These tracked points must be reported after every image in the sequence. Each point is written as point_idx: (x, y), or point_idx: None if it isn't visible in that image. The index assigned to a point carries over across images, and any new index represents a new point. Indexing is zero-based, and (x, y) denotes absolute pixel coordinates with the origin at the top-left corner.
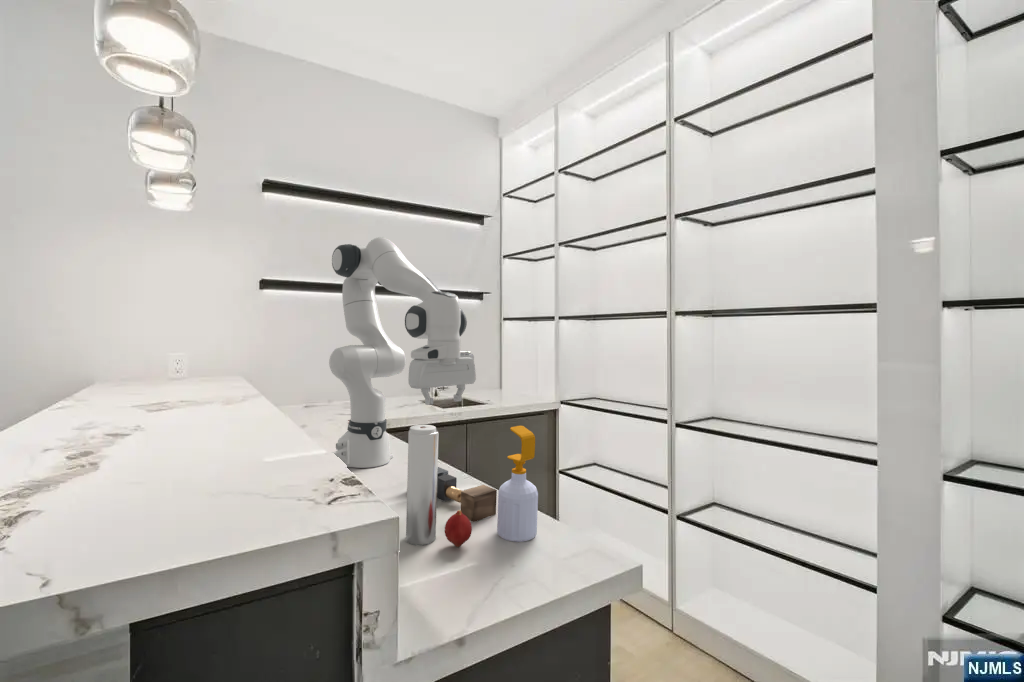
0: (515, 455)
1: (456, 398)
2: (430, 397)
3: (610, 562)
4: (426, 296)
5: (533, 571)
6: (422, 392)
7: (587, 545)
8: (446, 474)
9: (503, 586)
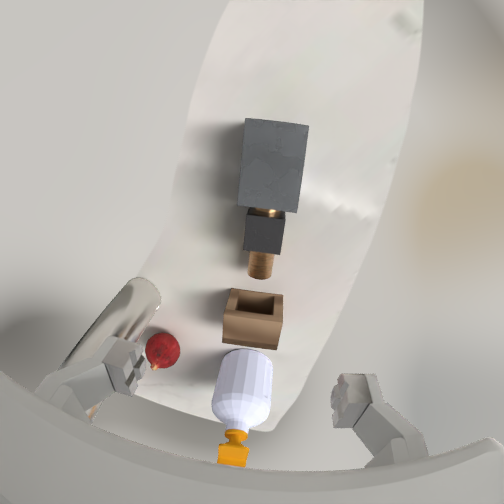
0: (235, 449)
1: (338, 402)
2: (109, 394)
3: (261, 424)
4: None
5: (199, 397)
6: (55, 379)
7: (277, 410)
8: (281, 220)
9: (163, 389)
